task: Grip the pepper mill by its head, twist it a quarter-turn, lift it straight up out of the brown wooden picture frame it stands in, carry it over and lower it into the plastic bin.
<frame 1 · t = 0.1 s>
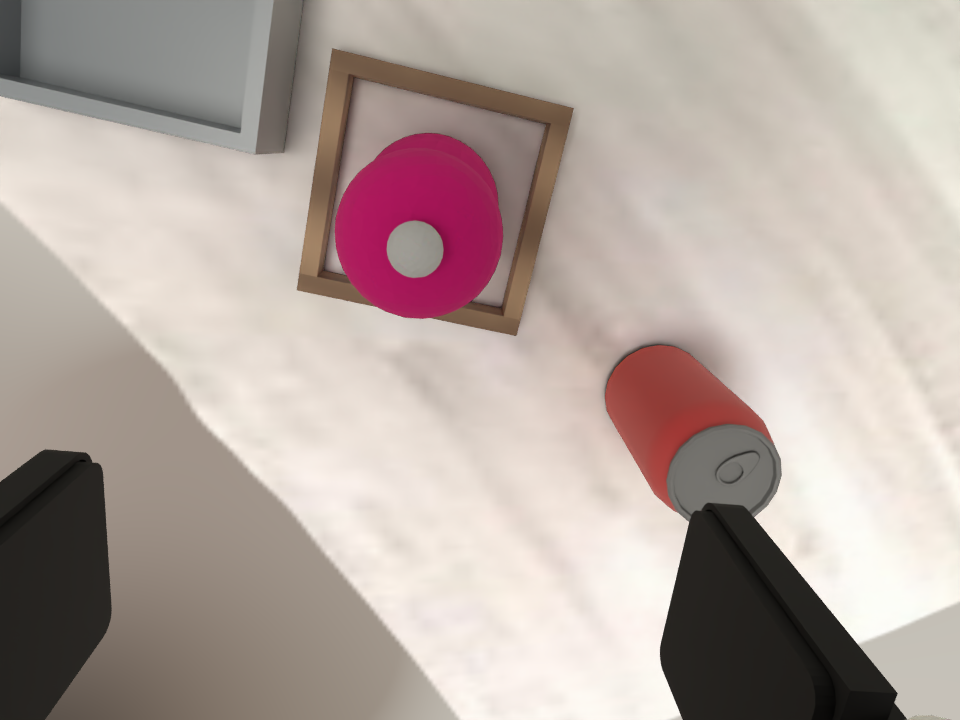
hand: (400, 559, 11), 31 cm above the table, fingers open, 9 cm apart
brown wooden picture frame: (431, 199, 39), on the table
beer can: (652, 389, 44), on the table
pepper mill: (431, 199, 39), resting in brown wooden picture frame
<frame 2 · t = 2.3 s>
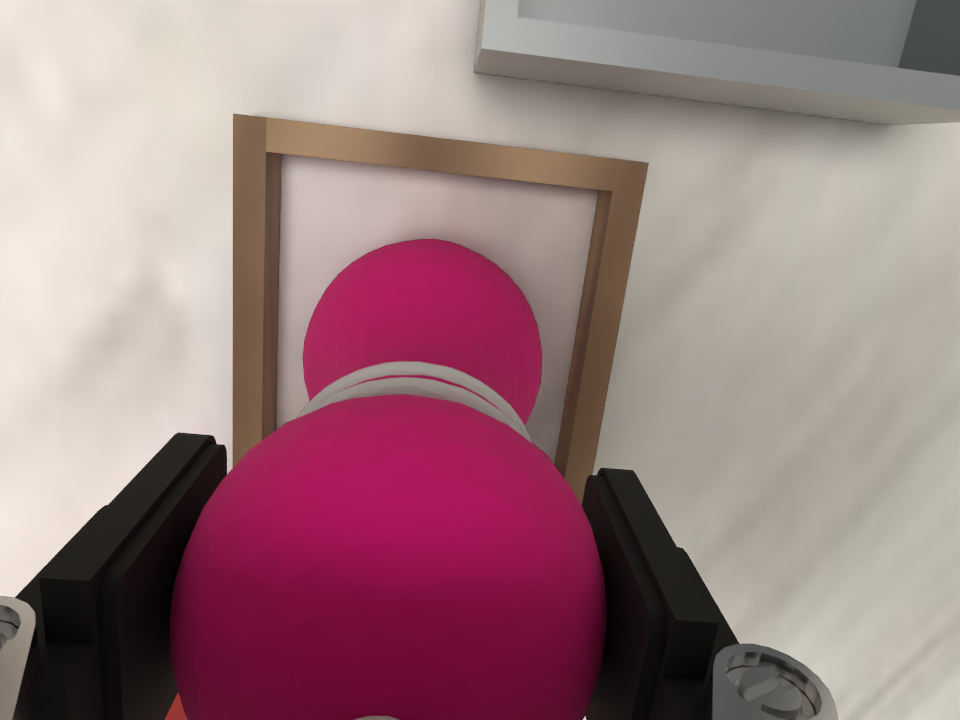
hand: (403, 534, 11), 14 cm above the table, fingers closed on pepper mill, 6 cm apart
brown wooden picture frame: (429, 323, 25), on the table
beer can: (195, 665, 29), on the table
pepper mill: (429, 321, 25), resting in brown wooden picture frame, touching gripper
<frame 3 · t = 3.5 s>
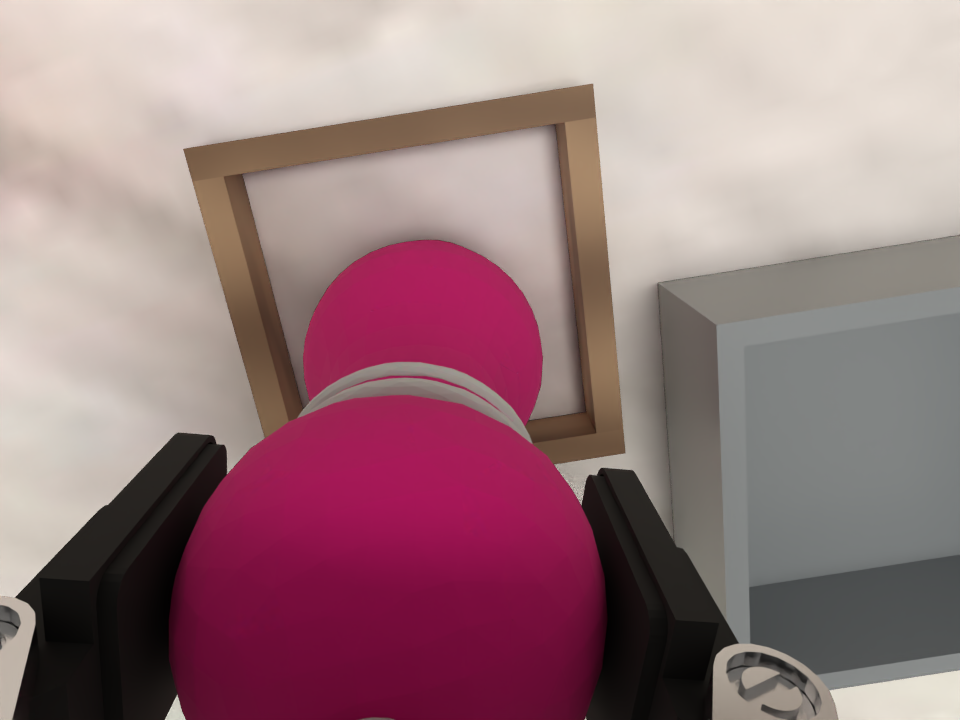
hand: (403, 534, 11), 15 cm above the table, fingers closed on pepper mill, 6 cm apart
bin: (844, 427, 27), on the table
brown wooden picture frame: (426, 300, 25), on the table
pepper mill: (429, 322, 25), resting in brown wooden picture frame, touching gripper
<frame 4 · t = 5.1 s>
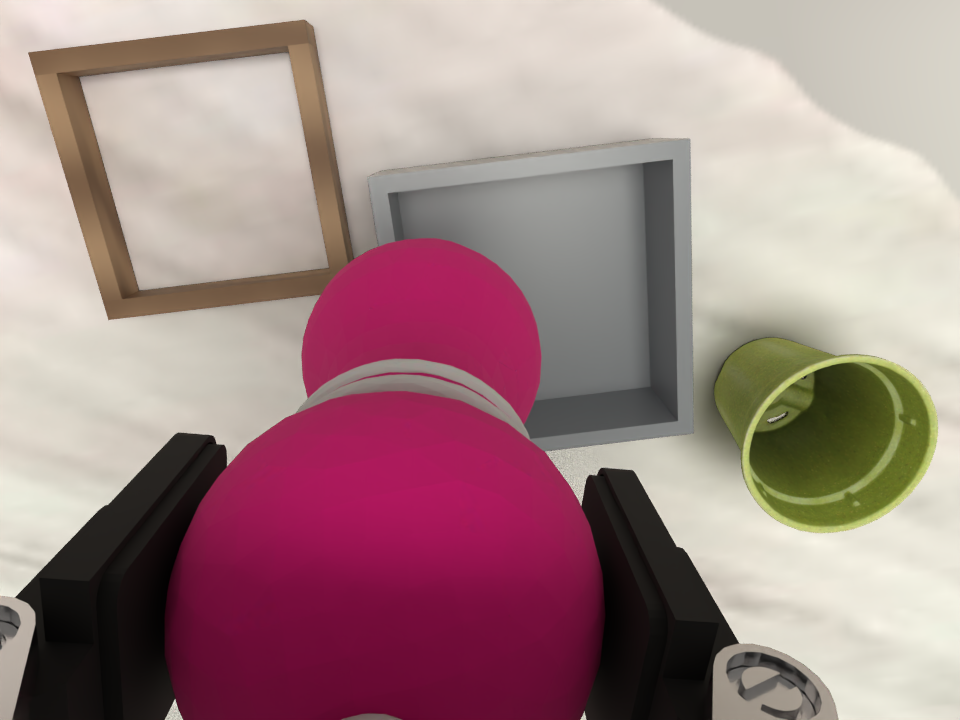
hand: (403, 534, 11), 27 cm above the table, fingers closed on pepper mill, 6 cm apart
bin: (529, 288, 38), on the table
brown wooden picture frame: (214, 176, 35), on the table
plant pot: (760, 384, 41), on the table
pepper mill: (428, 321, 25), point 13 cm above the table, touching gripper
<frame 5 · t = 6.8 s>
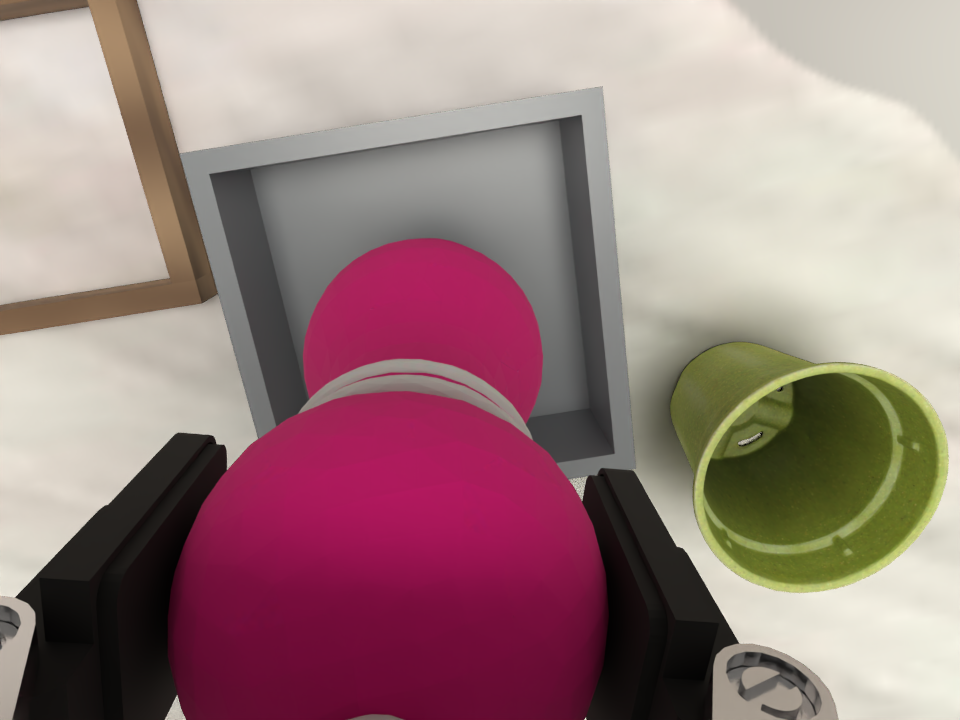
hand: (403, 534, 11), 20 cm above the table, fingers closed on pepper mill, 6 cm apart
bin: (431, 292, 31), on the table
brown wooden picture frame: (23, 167, 28), on the table
plant pot: (727, 399, 33), on the table
pepper mill: (429, 321, 25), point 6 cm above the table, touching gripper
when the fingers open (16 cm above the table, at t = 8.0 s): pepper mill drops 1 cm, resting on bin.
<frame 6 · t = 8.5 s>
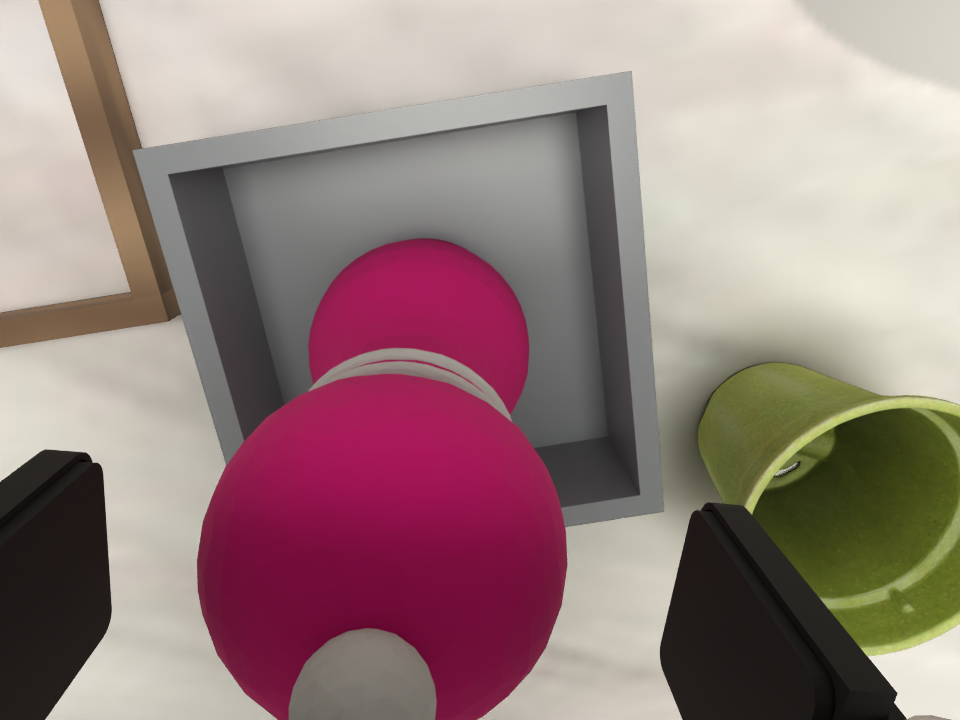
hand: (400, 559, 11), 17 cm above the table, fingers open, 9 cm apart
bin: (430, 307, 27), on the table
plant pot: (760, 425, 30), on the table
pepper mill: (426, 316, 27), point 1 cm above the table, touching bin
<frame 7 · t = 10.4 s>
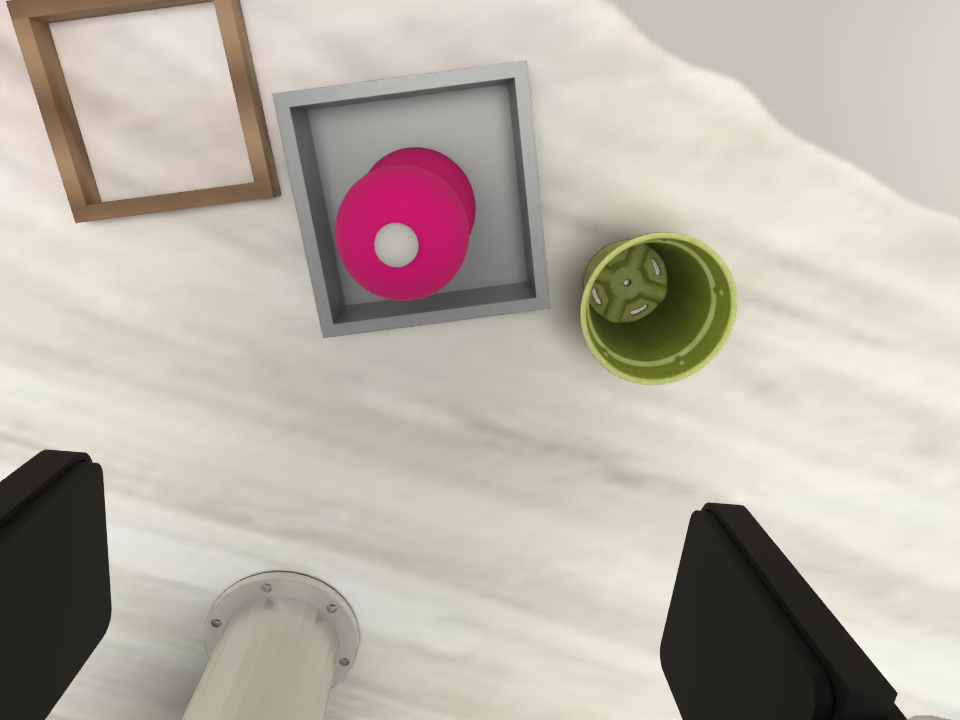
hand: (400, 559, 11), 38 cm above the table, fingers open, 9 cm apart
bin: (423, 198, 46), on the table
brown wooden picture frame: (159, 105, 43), on the table
plant pot: (623, 281, 48), on the table
pepper mill: (420, 202, 45), point 1 cm above the table, touching bin
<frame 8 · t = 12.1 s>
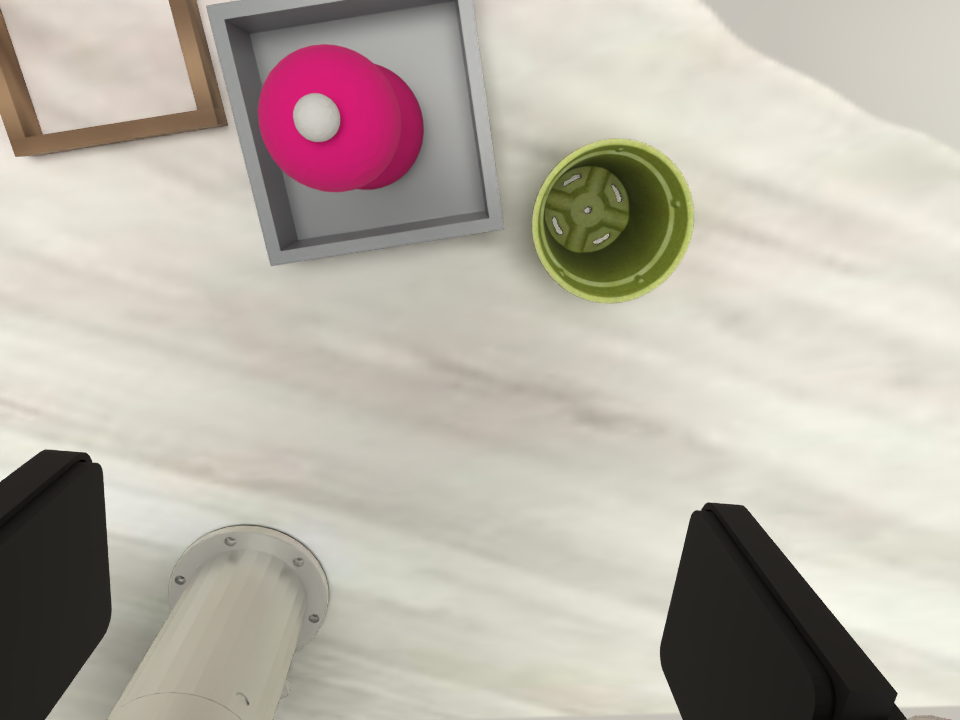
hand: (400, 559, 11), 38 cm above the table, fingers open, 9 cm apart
bin: (374, 126, 45), on the table
brown wooden picture frame: (98, 33, 42), on the table
plant pot: (584, 210, 47), on the table
pepper mill: (370, 129, 44), point 1 cm above the table, touching bin
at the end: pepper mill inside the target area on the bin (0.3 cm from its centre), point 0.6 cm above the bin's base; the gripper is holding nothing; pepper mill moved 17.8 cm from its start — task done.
